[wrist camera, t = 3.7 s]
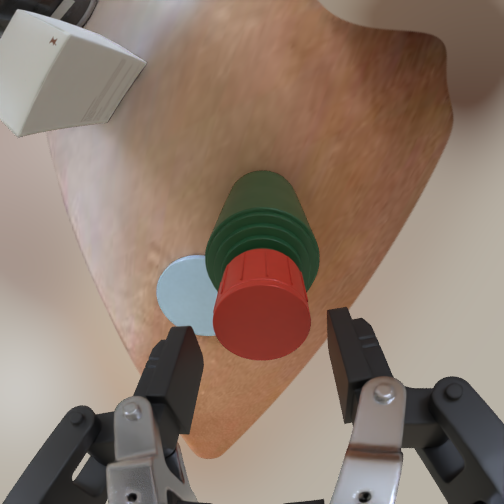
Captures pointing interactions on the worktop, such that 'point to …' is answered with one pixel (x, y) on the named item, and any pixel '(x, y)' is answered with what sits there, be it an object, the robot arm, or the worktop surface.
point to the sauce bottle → (262, 226)
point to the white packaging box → (60, 75)
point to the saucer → (188, 294)
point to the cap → (261, 306)
